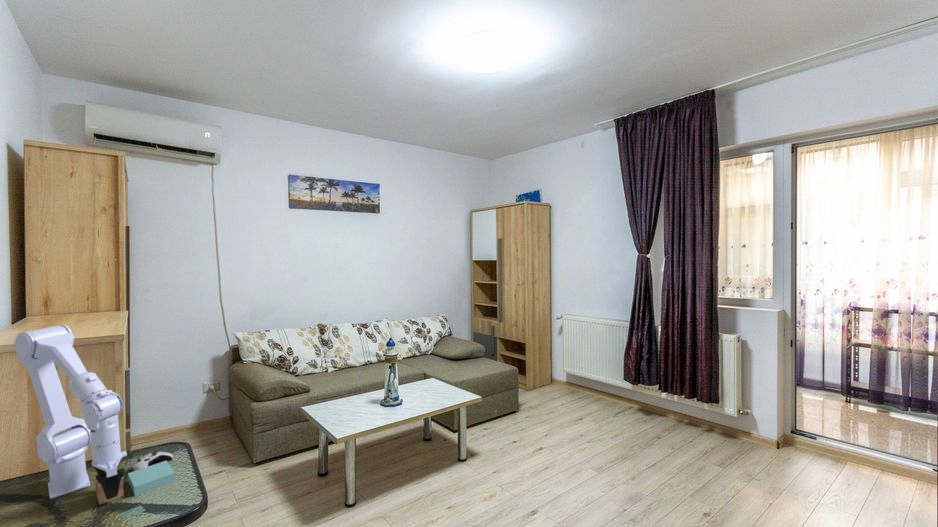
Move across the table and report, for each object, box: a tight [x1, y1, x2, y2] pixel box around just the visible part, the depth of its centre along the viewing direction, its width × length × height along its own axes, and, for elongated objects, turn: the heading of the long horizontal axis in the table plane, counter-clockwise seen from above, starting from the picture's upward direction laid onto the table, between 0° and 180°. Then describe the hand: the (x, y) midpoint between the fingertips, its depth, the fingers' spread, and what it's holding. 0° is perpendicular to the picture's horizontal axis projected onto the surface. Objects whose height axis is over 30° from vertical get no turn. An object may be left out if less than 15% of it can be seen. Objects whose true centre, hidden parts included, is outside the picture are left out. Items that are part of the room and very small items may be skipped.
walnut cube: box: [94, 478, 125, 506], centre depth 114 cm, size 5×5×5 cm
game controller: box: [132, 451, 174, 471], centre depth 128 cm, size 10×5×6 cm
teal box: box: [127, 460, 176, 497], centre depth 120 cm, size 9×9×3 cm
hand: (109, 491), depth 114 cm, fingers open, 7 cm apart
